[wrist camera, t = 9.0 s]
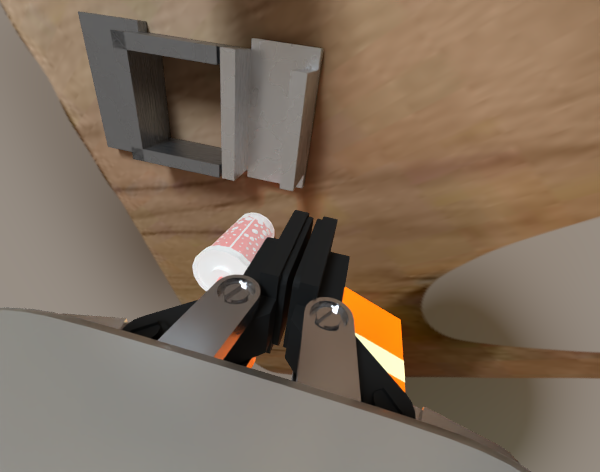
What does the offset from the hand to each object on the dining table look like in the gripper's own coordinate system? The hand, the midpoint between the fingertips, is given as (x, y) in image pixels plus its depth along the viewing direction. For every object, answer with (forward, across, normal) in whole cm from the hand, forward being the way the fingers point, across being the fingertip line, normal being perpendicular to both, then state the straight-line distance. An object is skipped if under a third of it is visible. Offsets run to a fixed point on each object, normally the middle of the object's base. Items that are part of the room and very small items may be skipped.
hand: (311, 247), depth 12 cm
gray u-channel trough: (+19, +7, 0) cm, 20 cm away
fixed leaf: (+19, +18, 0) cm, 26 cm away
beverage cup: (+19, +9, +13) cm, 25 cm away
